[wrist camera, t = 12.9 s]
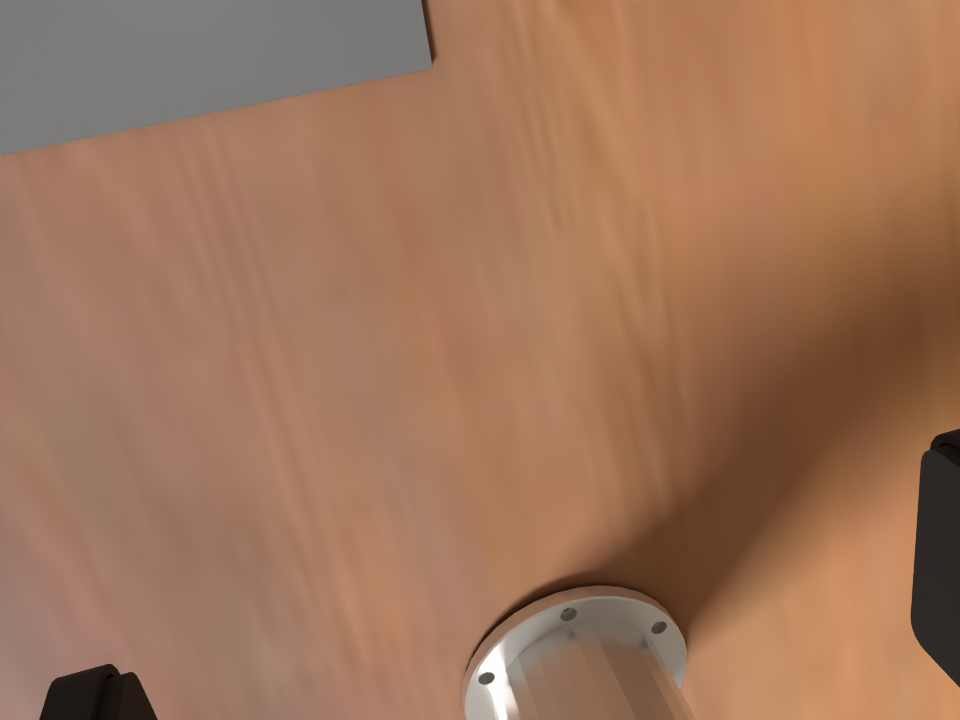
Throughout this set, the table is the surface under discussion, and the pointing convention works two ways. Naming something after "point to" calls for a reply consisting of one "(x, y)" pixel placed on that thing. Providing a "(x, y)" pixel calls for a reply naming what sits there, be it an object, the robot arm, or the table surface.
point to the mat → (186, 58)
